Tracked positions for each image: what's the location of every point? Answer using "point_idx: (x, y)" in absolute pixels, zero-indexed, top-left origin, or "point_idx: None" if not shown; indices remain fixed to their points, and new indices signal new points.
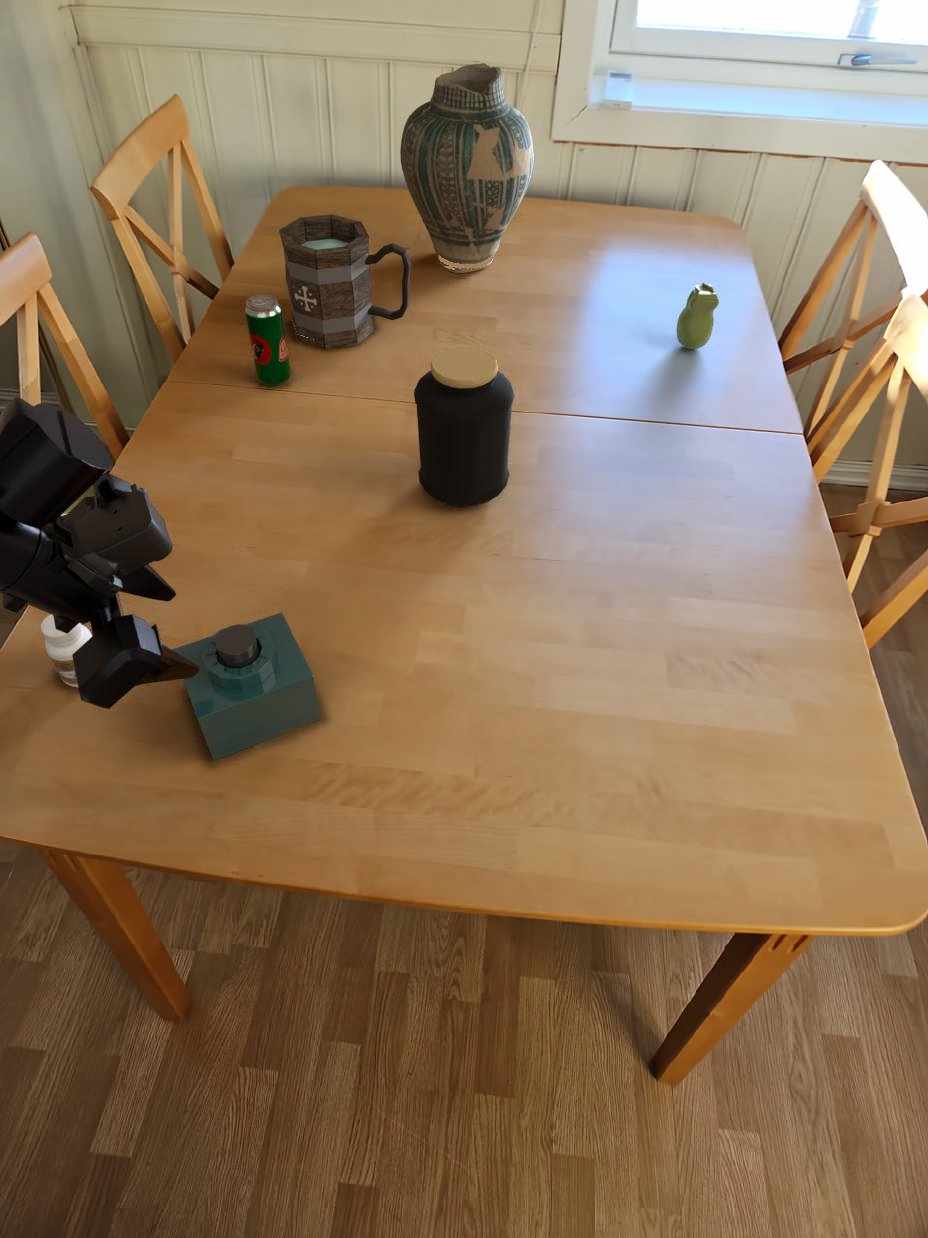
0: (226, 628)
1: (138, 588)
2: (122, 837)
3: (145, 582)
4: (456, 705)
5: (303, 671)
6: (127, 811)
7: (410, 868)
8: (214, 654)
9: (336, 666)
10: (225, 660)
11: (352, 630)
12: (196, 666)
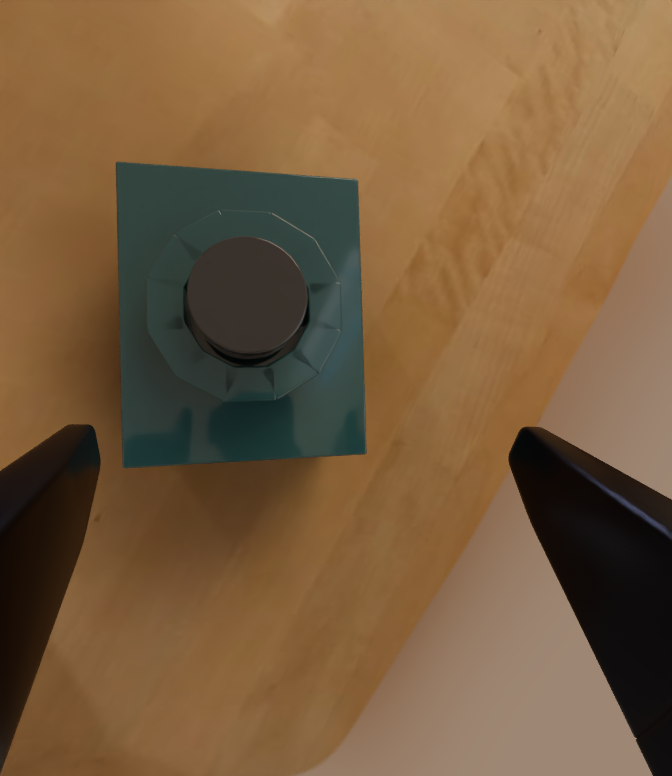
0: (191, 305)
1: (32, 625)
2: (405, 602)
3: (18, 588)
4: (393, 22)
5: (336, 193)
6: (364, 590)
7: (604, 231)
8: (235, 368)
9: (218, 164)
10: (281, 346)
11: (137, 92)
12: (544, 434)
